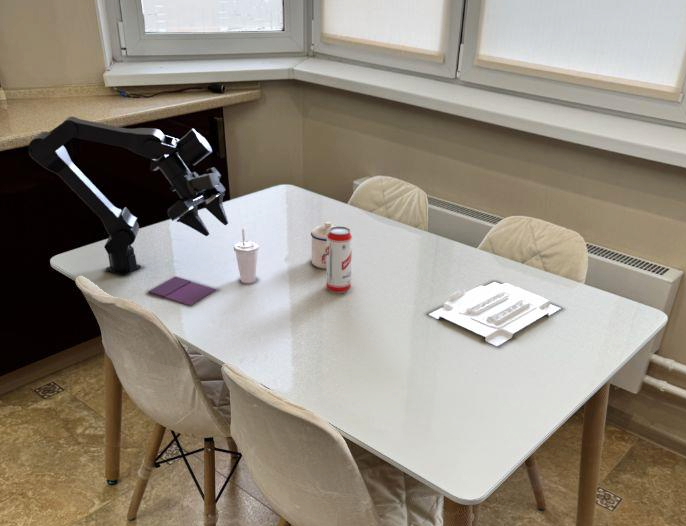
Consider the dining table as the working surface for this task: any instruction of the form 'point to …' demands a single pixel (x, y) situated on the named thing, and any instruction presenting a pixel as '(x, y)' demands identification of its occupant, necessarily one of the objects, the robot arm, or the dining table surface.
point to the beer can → (339, 259)
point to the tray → (495, 310)
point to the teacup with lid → (320, 245)
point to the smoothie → (246, 259)
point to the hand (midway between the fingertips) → (217, 229)
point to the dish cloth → (182, 291)
